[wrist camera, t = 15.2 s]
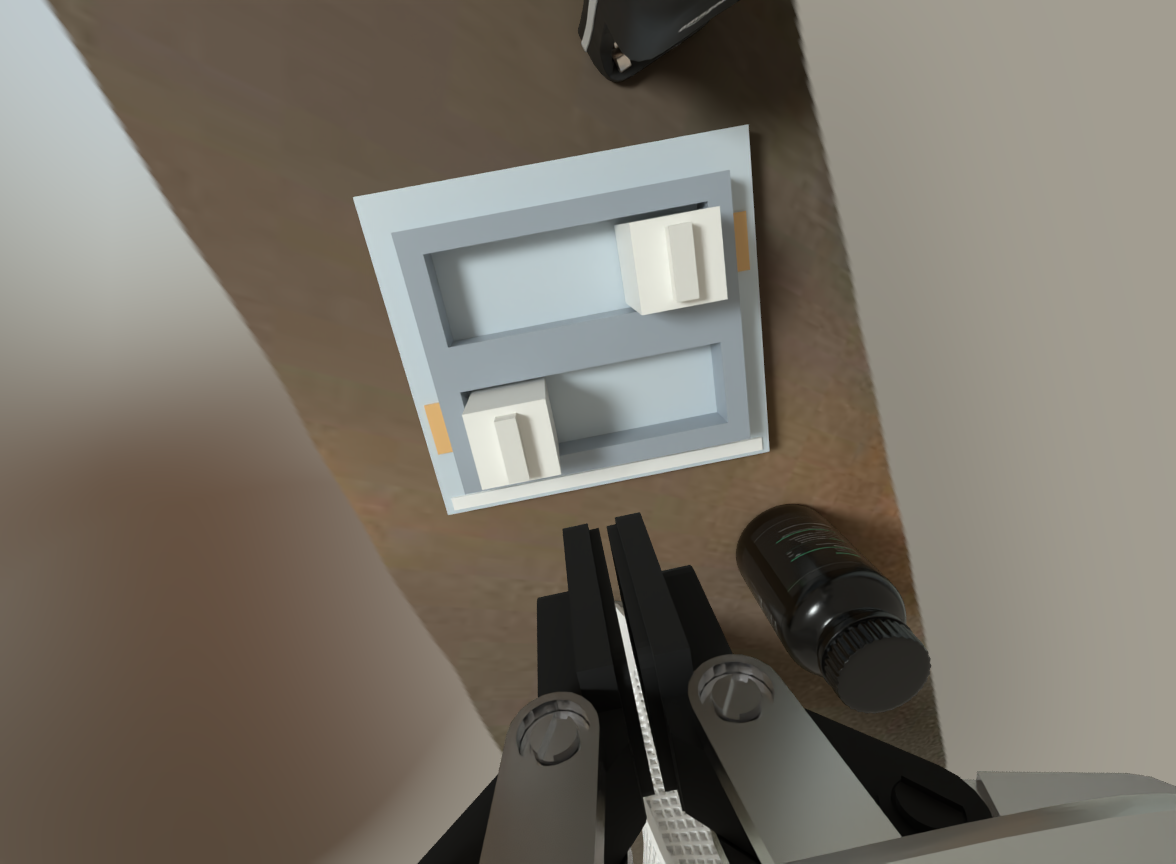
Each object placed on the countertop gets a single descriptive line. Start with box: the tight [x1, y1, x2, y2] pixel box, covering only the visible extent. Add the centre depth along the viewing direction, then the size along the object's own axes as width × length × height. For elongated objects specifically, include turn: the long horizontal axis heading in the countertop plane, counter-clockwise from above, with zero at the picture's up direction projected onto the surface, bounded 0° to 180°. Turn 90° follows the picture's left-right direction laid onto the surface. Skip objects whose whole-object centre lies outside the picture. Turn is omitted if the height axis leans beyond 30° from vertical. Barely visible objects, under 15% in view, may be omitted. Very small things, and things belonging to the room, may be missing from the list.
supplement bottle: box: [736, 505, 931, 713], centre depth 32 cm, size 7×7×12 cm
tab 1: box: [462, 376, 561, 490], centre depth 29 cm, size 4×4×6 cm
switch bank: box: [353, 124, 769, 515], centre depth 30 cm, size 18×20×4 cm
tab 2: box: [614, 206, 728, 315], centre depth 26 cm, size 4×4×6 cm
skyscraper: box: [614, 601, 722, 864], centre depth 26 cm, size 8×8×28 cm
